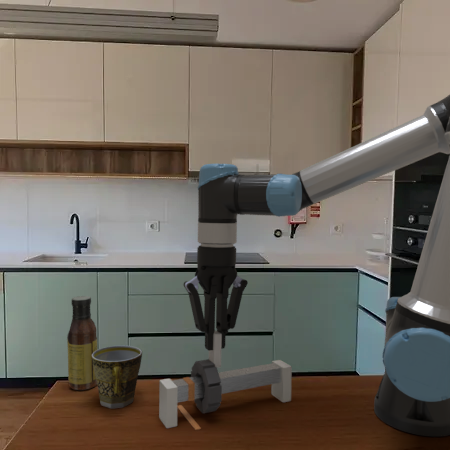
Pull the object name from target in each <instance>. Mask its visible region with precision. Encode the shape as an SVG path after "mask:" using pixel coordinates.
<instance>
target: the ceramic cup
mask: <svg viewBox="0 0 450 450" xmlns="http://www.w3.org/2000/svg"><path fill="white" fill-rule="evenodd" d="M142 358H143V350H142V349H141V348H140V347H137V346H133V345H127V344H126V345H123V344H121V345H111V346H105V347H101V348H99V349H97V350H96V351H95V352H94V353H93V354H92V361H93V367H94V372H95V376H96V379H97V385H96V386H97V391H98V397H99V402H100V405H101V406H103V407H104V408H108V409H118V408H119V409H123V408H125V407H127V406H128V405H131V404H132V403H133V402H134V399H135V396H136V395H135V392H136V388H137V383H138V382H137V381H138V378H139V377H138V375H139V373H140V368H141V365H142V364H141V363H142Z"/></svg>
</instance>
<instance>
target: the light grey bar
mask: <svg viewBox="0 0 450 450" xmlns="http://www.w3.org/2000/svg"><path fill="white" fill-rule="evenodd" d="M218 373H219V377H220V380H221V383H220V385H221V386H222V395H224V394H228V393H233V392H239V391H244V390H249V389H254V388H258V387H264V386H269V385H270V386H271V385H272V384H275V383H280V382H281V377H282V368H281V367H279V366H278V365H276V364H274V363H272V362H271V363H267V364H260V365H254V366H250V367H249V366H248V367H243V368H237V369H231V370H225V371H221V372H219V371H218ZM171 380H172V382H173V383H174V384H175V385H176V386H177V387H178V392H177V404H178V403H182V402H183V403H184V402H186V401H188V402H190V401H194V400H195V399H198V398H203V397H205V385H204V381H203V378H202V376H196V377H191V376H186V377H182V378H179V379H174V380H173V379H171Z"/></svg>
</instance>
